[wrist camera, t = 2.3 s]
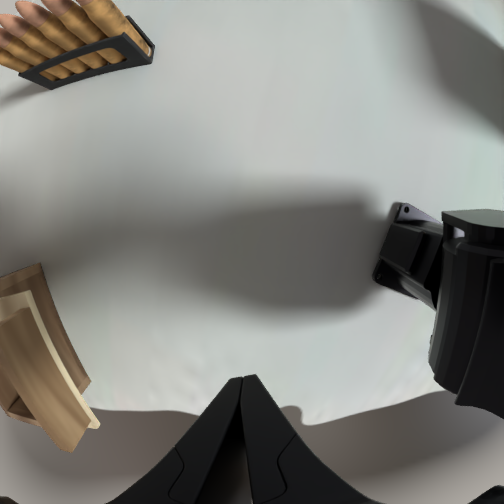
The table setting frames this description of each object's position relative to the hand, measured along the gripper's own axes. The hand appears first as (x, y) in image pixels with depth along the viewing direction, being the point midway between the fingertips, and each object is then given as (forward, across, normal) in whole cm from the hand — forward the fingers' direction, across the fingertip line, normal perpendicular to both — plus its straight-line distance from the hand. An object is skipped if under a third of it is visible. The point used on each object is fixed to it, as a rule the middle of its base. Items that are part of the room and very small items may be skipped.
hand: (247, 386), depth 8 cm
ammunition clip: (+12, +8, -20) cm, 25 cm away
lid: (+5, +17, +1) cm, 17 cm away
